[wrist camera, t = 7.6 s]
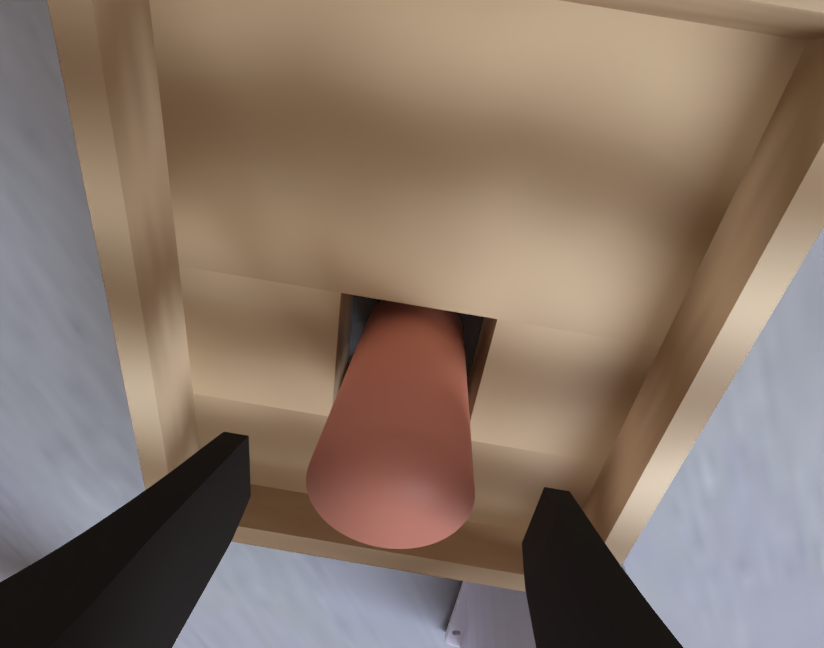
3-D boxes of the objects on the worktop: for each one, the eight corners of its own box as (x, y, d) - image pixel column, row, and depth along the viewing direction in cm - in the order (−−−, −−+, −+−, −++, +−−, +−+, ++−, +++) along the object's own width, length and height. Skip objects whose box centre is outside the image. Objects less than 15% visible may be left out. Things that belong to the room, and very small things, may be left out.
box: (569, 509, 21) (598, 604, 16) (210, 448, 21) (153, 528, 17) (794, 19, 12) (979, -35, 8) (160, -84, 12) (8, -192, 8)
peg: (453, 383, 18) (457, 559, 11) (362, 368, 18) (304, 534, 11) (472, 298, 16) (491, 441, 9) (370, 282, 16) (307, 412, 9)
